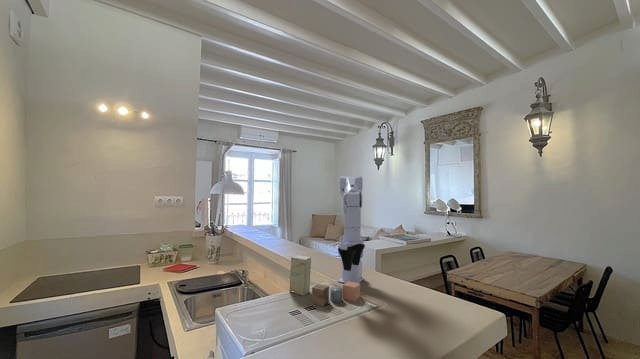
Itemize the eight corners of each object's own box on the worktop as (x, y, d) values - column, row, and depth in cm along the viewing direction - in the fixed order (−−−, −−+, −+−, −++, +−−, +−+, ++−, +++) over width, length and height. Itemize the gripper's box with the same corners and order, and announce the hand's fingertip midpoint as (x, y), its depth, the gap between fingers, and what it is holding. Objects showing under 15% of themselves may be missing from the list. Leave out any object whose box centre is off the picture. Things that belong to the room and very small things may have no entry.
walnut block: (318, 299, 82) (318, 283, 83) (328, 301, 80) (329, 286, 81) (311, 303, 79) (312, 287, 79) (322, 306, 77) (323, 290, 77)
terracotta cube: (347, 294, 87) (348, 281, 87) (360, 297, 85) (360, 283, 85) (342, 298, 83) (342, 284, 83) (355, 301, 81) (355, 287, 81)
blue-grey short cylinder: (333, 296, 84) (333, 286, 85) (344, 299, 82) (344, 288, 83) (328, 301, 81) (328, 290, 81) (339, 303, 79) (339, 292, 79)
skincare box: (289, 292, 88) (289, 257, 88) (296, 288, 92) (296, 254, 92) (304, 295, 85) (305, 259, 85) (310, 291, 89) (311, 256, 89)
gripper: (355, 230, 77) (355, 275, 76) (370, 226, 90) (369, 264, 89) (334, 228, 81) (334, 271, 80) (351, 224, 93) (351, 261, 92)
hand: (351, 267), depth 85 cm, fingers open, 7 cm apart
